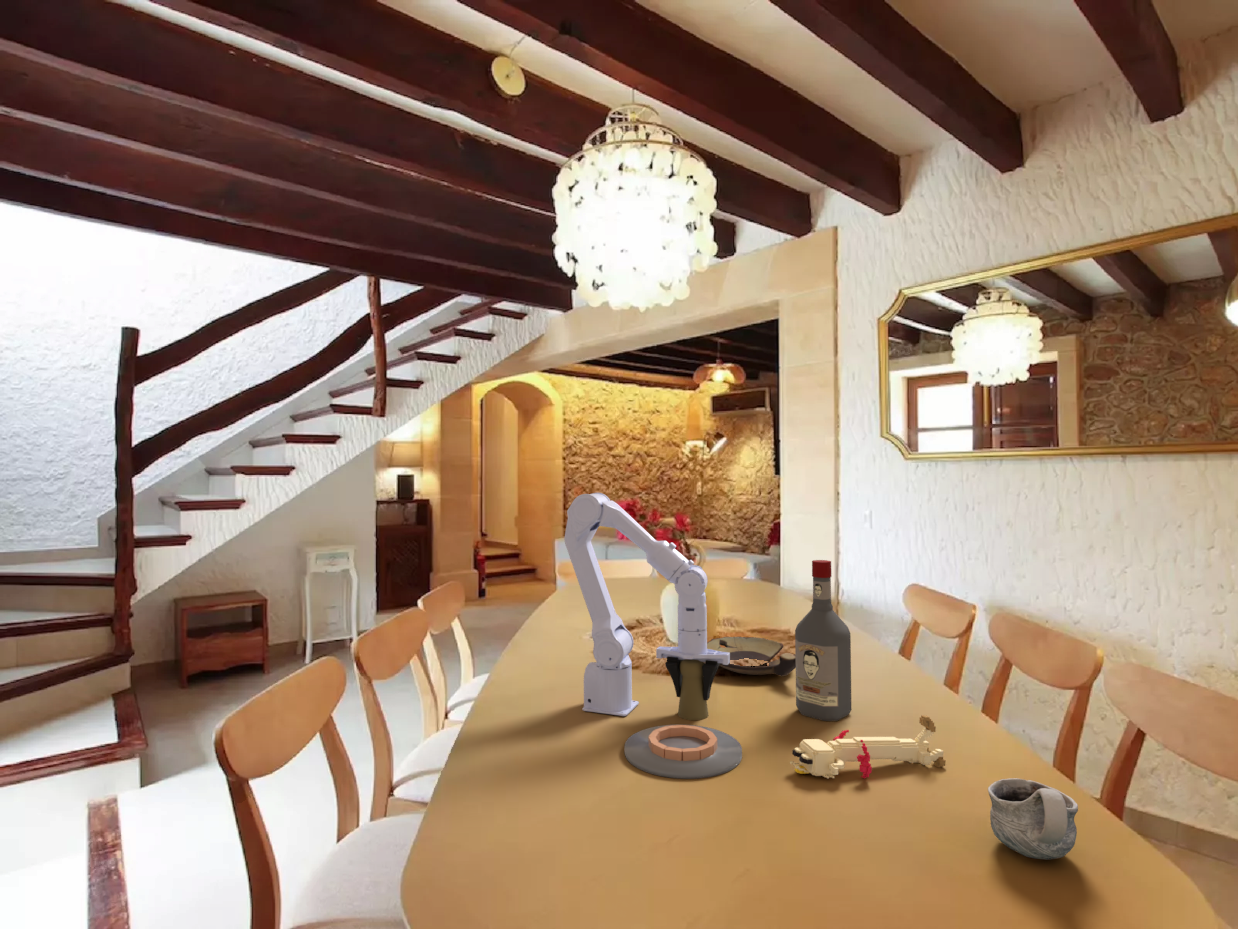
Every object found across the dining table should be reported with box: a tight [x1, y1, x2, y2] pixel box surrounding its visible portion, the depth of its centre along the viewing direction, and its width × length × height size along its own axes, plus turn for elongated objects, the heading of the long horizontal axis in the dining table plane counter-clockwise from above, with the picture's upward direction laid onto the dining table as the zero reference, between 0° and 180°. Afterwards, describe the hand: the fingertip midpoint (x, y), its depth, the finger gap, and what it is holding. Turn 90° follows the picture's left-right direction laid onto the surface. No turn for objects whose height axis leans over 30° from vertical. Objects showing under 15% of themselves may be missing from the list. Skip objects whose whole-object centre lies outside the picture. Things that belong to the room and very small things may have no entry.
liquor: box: [794, 559, 853, 722], centre depth 134 cm, size 9×9×30 cm
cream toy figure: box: [789, 714, 946, 779], centre depth 109 cm, size 10×9×25 cm
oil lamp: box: [707, 636, 796, 677], centre depth 161 cm, size 22×30×8 cm
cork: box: [677, 659, 709, 721], centre depth 133 cm, size 6×6×11 cm
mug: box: [987, 777, 1079, 861], centre depth 83 cm, size 10×12×10 cm
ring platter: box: [624, 724, 743, 780], centre depth 115 cm, size 20×20×2 cm
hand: (693, 697), depth 133 cm, fingers closed on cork, 5 cm apart
